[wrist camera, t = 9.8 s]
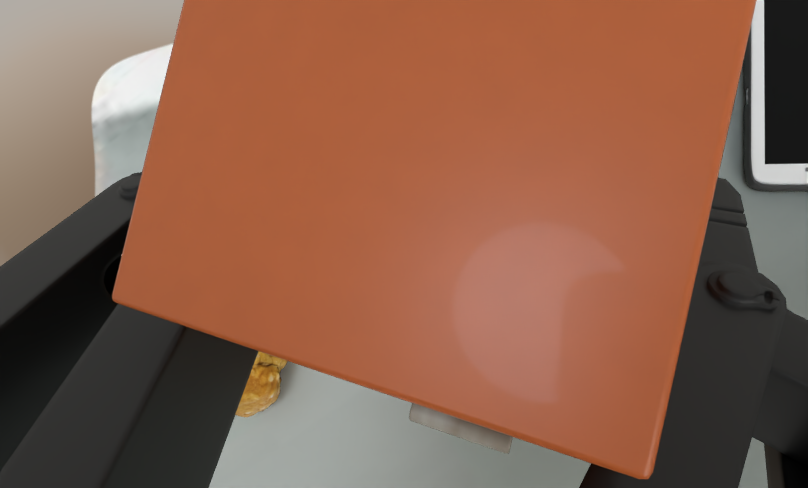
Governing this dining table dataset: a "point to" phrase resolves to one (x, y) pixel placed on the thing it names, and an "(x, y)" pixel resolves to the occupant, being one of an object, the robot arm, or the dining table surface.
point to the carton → (446, 200)
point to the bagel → (261, 385)
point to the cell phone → (777, 97)
